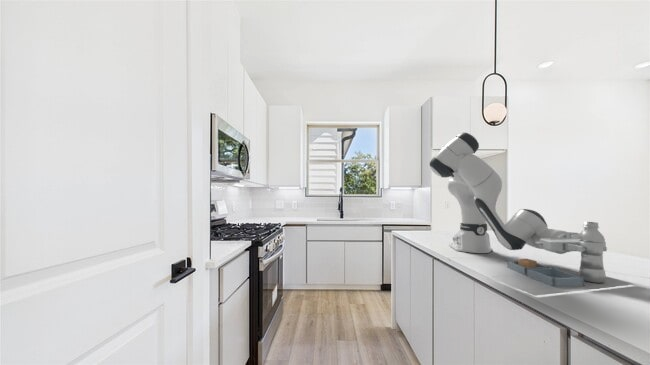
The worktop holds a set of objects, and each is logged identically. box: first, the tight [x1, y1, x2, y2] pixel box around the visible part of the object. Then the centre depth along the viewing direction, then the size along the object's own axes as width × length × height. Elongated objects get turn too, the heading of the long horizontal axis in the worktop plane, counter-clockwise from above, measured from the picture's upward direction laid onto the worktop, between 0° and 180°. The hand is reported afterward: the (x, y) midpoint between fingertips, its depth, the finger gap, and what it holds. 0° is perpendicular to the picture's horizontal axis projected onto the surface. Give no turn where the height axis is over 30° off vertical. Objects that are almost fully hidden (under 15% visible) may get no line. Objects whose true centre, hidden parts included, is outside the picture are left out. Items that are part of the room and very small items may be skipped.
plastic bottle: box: [578, 221, 607, 284], centre depth 93 cm, size 6×7×20 cm
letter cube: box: [517, 258, 538, 267], centre depth 105 cm, size 4×4×4 cm
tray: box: [526, 267, 585, 288], centre depth 94 cm, size 11×10×3 cm
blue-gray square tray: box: [506, 260, 550, 276], centre depth 105 cm, size 9×9×3 cm
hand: (594, 249), depth 92 cm, fingers closed on plastic bottle, 6 cm apart
